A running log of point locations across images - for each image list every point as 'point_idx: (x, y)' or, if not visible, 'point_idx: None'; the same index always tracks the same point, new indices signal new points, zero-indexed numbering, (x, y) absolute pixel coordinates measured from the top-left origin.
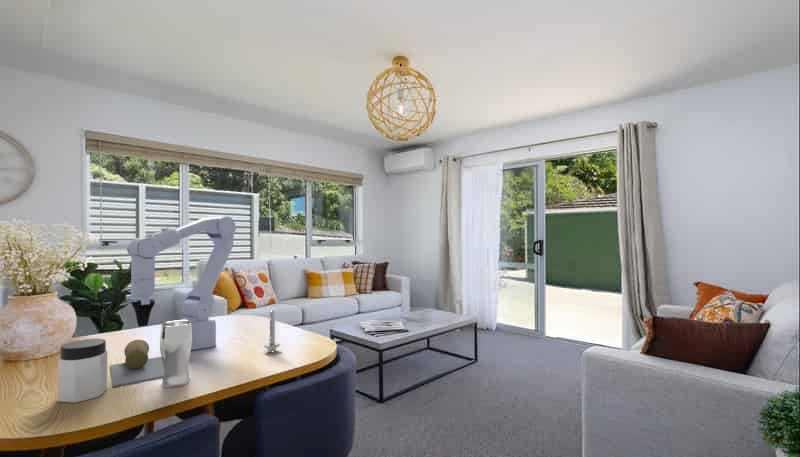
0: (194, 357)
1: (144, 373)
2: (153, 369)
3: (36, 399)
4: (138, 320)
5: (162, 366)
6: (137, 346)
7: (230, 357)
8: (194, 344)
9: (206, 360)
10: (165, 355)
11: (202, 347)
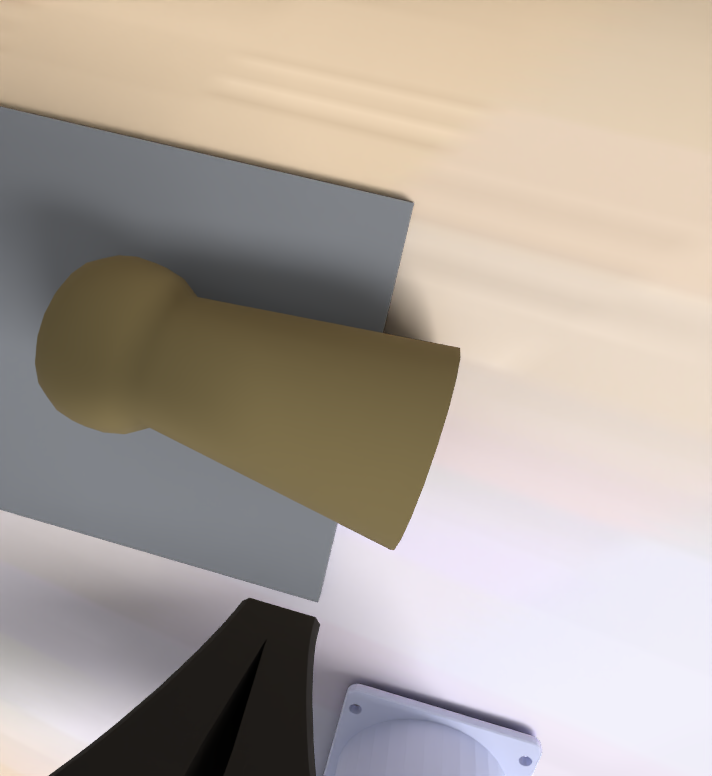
0: (178, 652)
1: (5, 319)
2: None
3: None
4: (184, 670)
5: (86, 452)
6: (221, 423)
7: (36, 743)
8: (340, 769)
9: (68, 657)
10: None
11: (324, 773)
